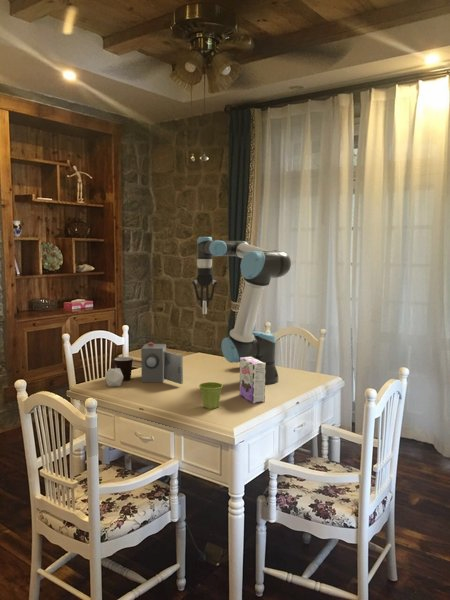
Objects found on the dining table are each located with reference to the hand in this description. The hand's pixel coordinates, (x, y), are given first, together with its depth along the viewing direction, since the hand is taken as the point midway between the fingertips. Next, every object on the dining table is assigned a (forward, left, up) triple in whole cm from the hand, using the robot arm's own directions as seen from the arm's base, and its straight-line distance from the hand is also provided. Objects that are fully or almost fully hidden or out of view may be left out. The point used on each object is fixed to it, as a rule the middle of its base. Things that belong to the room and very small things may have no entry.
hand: (204, 313), depth 261 cm
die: (-13, +49, -30) cm, 59 cm away
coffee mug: (-2, +42, -30) cm, 51 cm away
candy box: (-55, 0, -30) cm, 62 cm away
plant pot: (-59, +20, -30) cm, 69 cm away
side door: (-21, +24, -28) cm, 43 cm away
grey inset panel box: (-9, +29, -29) cm, 43 cm away
